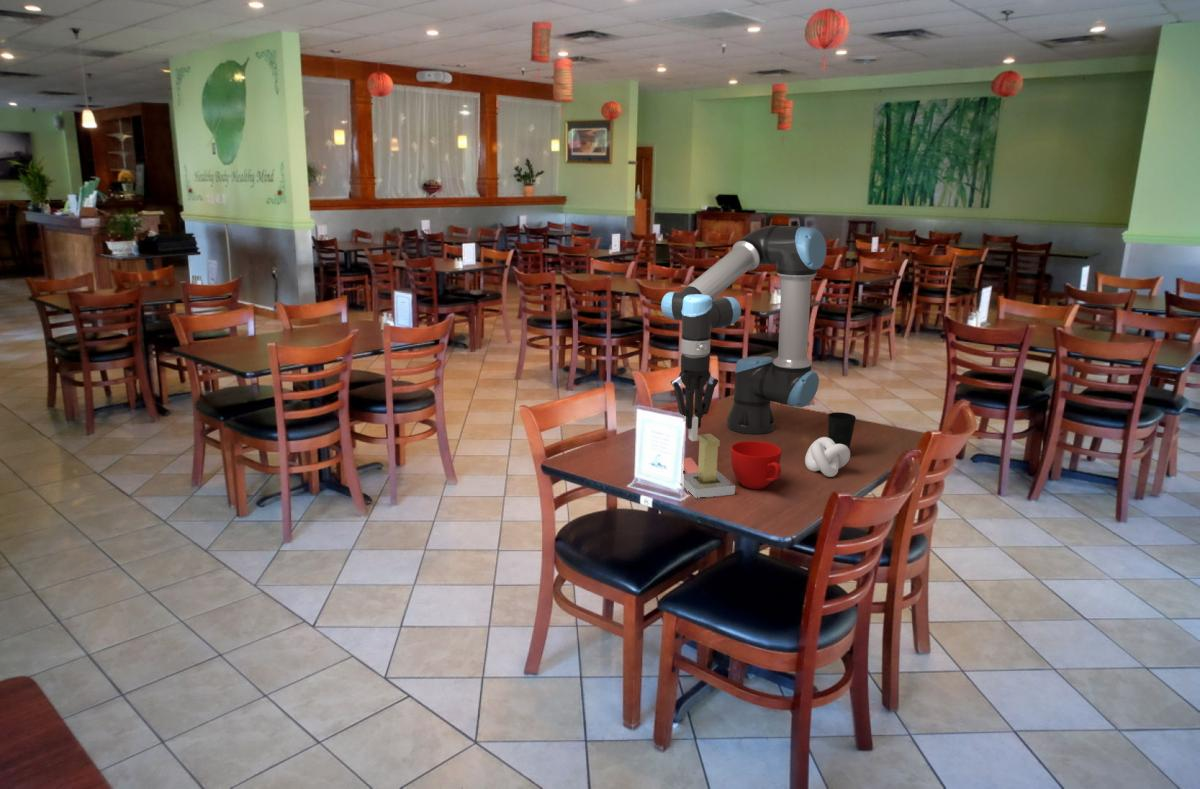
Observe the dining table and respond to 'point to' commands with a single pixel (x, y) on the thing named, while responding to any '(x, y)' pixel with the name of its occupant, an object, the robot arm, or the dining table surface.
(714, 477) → the khaki tall block
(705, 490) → the socket block
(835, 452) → the white knot
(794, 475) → the dining table surface
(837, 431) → the cup
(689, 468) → the reddish flat block
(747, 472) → the ceramic cup
